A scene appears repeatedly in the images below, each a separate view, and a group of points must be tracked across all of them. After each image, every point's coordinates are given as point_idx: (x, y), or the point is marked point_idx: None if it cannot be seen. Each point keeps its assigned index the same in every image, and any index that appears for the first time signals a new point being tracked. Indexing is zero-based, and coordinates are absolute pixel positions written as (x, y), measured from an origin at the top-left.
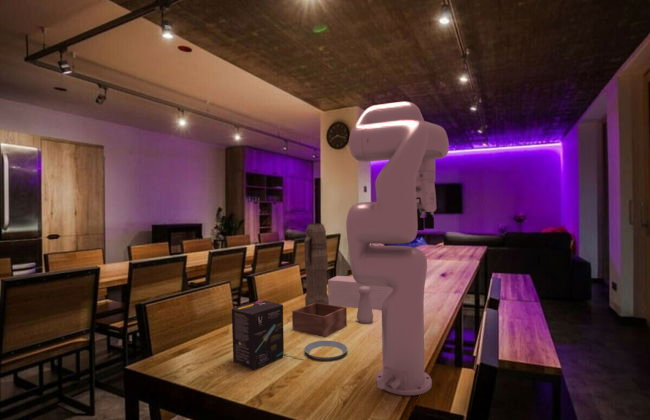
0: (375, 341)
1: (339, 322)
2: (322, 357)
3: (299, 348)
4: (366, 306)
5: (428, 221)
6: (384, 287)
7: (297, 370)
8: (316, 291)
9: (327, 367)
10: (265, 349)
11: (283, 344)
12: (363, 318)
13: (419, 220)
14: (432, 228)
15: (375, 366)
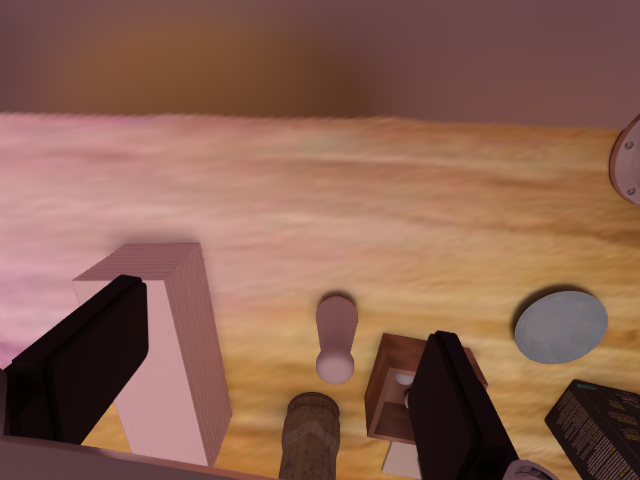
0: (449, 257)
1: (417, 352)
2: (607, 320)
3: (526, 371)
4: (350, 329)
5: (102, 373)
6: (182, 331)
7: (629, 339)
8: (333, 462)
9: (610, 300)
10: (637, 411)
11: (588, 397)
12: (357, 316)
13: (510, 450)
14: (137, 284)
15: (593, 222)
